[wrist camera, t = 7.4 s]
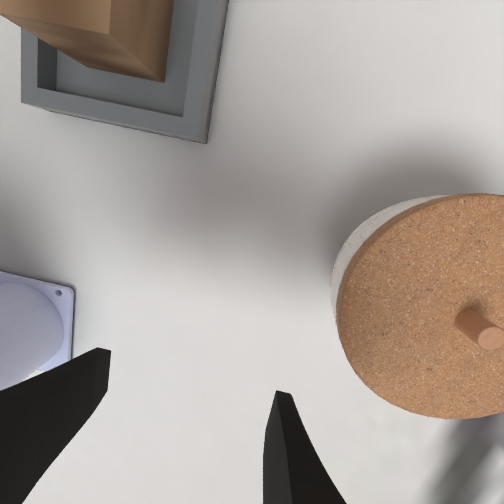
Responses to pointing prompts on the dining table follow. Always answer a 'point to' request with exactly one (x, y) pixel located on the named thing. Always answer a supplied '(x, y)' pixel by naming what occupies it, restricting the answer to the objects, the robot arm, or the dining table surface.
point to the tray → (136, 79)
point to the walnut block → (101, 32)
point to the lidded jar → (427, 304)
